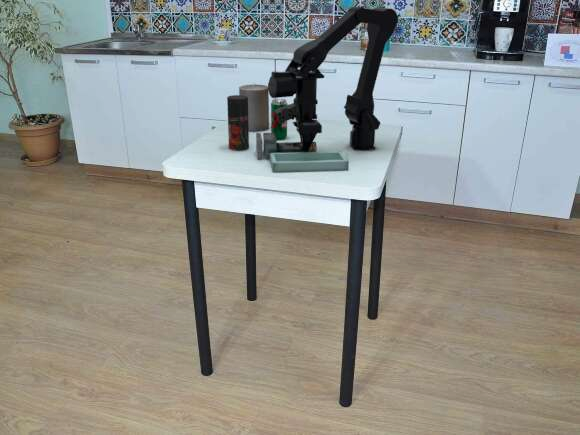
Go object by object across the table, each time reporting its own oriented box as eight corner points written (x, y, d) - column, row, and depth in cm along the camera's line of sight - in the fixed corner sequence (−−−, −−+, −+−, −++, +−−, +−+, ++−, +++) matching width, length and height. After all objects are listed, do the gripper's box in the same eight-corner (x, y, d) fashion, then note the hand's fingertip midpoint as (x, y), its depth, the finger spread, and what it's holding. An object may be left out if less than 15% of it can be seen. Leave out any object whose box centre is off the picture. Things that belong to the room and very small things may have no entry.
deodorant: (253, 148, 163) (252, 97, 157) (238, 152, 159) (236, 100, 153) (239, 144, 167) (238, 94, 161) (224, 147, 163) (222, 97, 157)
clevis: (273, 151, 160) (273, 132, 158) (276, 159, 153) (276, 140, 151) (256, 151, 160) (256, 132, 158) (258, 159, 153) (257, 140, 150)
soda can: (285, 140, 171) (285, 102, 166) (269, 139, 172) (269, 101, 167) (288, 136, 175) (289, 98, 171) (273, 135, 176) (273, 97, 171)
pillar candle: (268, 124, 189) (268, 80, 183) (269, 131, 180) (268, 85, 174) (240, 125, 189) (238, 80, 183) (239, 132, 180) (238, 85, 174)
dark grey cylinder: (314, 151, 160) (314, 140, 158) (316, 155, 157) (316, 143, 155) (266, 152, 158) (266, 141, 157) (267, 156, 155) (267, 145, 154)
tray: (341, 159, 153) (341, 151, 152) (348, 170, 145) (348, 161, 144) (269, 161, 151) (269, 153, 150) (272, 172, 143) (272, 163, 142)
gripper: (273, 89, 159) (273, 141, 165) (280, 102, 142) (280, 160, 148) (311, 88, 160) (310, 140, 166) (323, 102, 143) (321, 159, 149)
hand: (305, 150), depth 157 cm, fingers closed on dark grey cylinder, 3 cm apart
